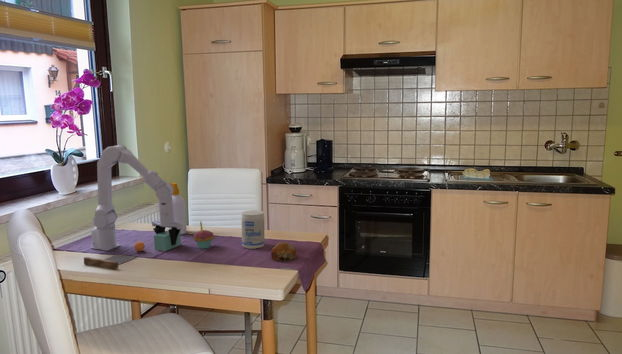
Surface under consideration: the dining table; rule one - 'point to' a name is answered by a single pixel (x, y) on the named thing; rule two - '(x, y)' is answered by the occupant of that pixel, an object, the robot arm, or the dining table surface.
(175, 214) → the soap bottle
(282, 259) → the bread roll
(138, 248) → the ball
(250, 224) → the supplement tub
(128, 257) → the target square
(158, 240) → the teal rectangular box
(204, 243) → the cupcake
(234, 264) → the dining table surface
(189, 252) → the dining table surface
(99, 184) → the robot arm
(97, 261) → the stopper strip
